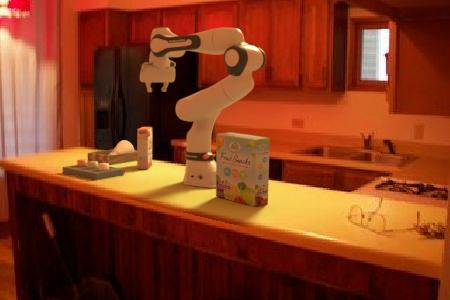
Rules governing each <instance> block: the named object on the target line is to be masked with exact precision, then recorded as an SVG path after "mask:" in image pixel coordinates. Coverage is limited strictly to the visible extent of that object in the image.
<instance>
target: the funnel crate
mask: <svg viewBox="0 0 450 300" xmlns="http://www.w3.org/2000/svg"><path fill="white" fill-rule="evenodd" d="M113 150H114V149H113V148H112V149H108V150H100V151H92V152H87V160H88V162H89V161H98V164H99V163H109V166H113V165H119V164H124V163H130V162H136V161H137V149H134V151H135V152H131V153H124V154H117V155H110V156H108V155H109V154H110V153H112V151H113Z"/></svg>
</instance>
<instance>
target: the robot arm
mask: <svg viewBox="0 0 450 300" xmlns="http://www.w3.org/2000/svg"><path fill="white" fill-rule="evenodd" d="M149 49H150V53H149V60H148V61H149V62H148V61H145V62H143V63H142V64H141V68H140V72H139V81H140V82H141V83H145V86H146V91H147V93H152V92H153V88H152V87H151V85H152V83H163V86H162V87H161V92H164V93H165V92H167V88H168V86H169V83H174V82H175V80H176V68H175V67H176V65H177V64H176V62H174V61H173V60H170V59H169V58H180V57H181V58H182V57H183V56H185V53H186V51H187V52H188V51H189V52H195V53H201V54H205V55H216V56H217V55H218V56H219V55H220V56H221V55H223V64H224V66H225V68H226V71H227V73H228V74H229V75H228V76H226V77H225V78H222V79H220V81H218V82H216V83H215V84H213V85H211V86H209V87H207V88H204V89H201V90H200V91H197V92H195V93H192V94H191V95H188V96H186V97H183V98H180V99H179V100H178V101H177V102H176V105H175V115H176V116H177V117H178V119H180V120H182V121H184V122H190V123H191V122H193V123H192V126H191V128H190V129H189V131H187V134H186V150H185V160H186V161H185V169H184V171H185V172H184V176H183V178H182V182H183V185H185V186H194V187H201V188H208V189H216V160H215V158H214V157H215V156H216V153H213V152H212V133H213V129H214V125H215V123H216V120H217V118H218V117H219V116H220V115H221V112H222V110H224V109H226V108H227V107H229V106H231V105H232V104H234V103H237V102H238V101H240V100H241V99H243V98H244V97H245V96H247V95H248V94H249V93H250V92H252V90H253V89H254V87H255V79H254V78H253V75H252V74H253V73H254V72H255V73H256V72H258V71H260V70H262V69H263V68H264V67H265V65H266V64H267V55H266V53H265V51H264V50H263V49H262V48H261V47H259V46H257V45H255V44H253V43H251V42H249V43H246V41H245V36H244V33H243V32H242V31H241V30H240V29H239V28H236V27H218V28H217V27H216V28H211V29H207V30H204V31H200V32H196V33H192V34H191V33H190V34H187V35H177V34H176V33H173V32H172V31H171V30H170V28H169V27H166V26H159V27H155V28H153V29H152V31H151V34H150V42H149Z"/></svg>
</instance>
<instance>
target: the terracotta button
mask: <svg viewBox="0 0 450 300" xmlns="http://www.w3.org/2000/svg"><path fill="white" fill-rule="evenodd" d="M76 160H77V162H76V165H77V167H81V168H82V167H88V164H87V162H88V159H84V158H83V159H76Z"/></svg>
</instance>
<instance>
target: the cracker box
mask: <svg viewBox="0 0 450 300" xmlns="http://www.w3.org/2000/svg"><path fill="white" fill-rule="evenodd" d="M136 130H137V136H136V138H137V139H136V140H137V141H136V142H137V146H136V147H137V148H136V150H137V162H136V163H137V164H136V167H137V168H136V169H137V170H149V168H150V167H151V166H153V127H152V126H142V127H140V128H139V127H138V128H137V129H136Z"/></svg>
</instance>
